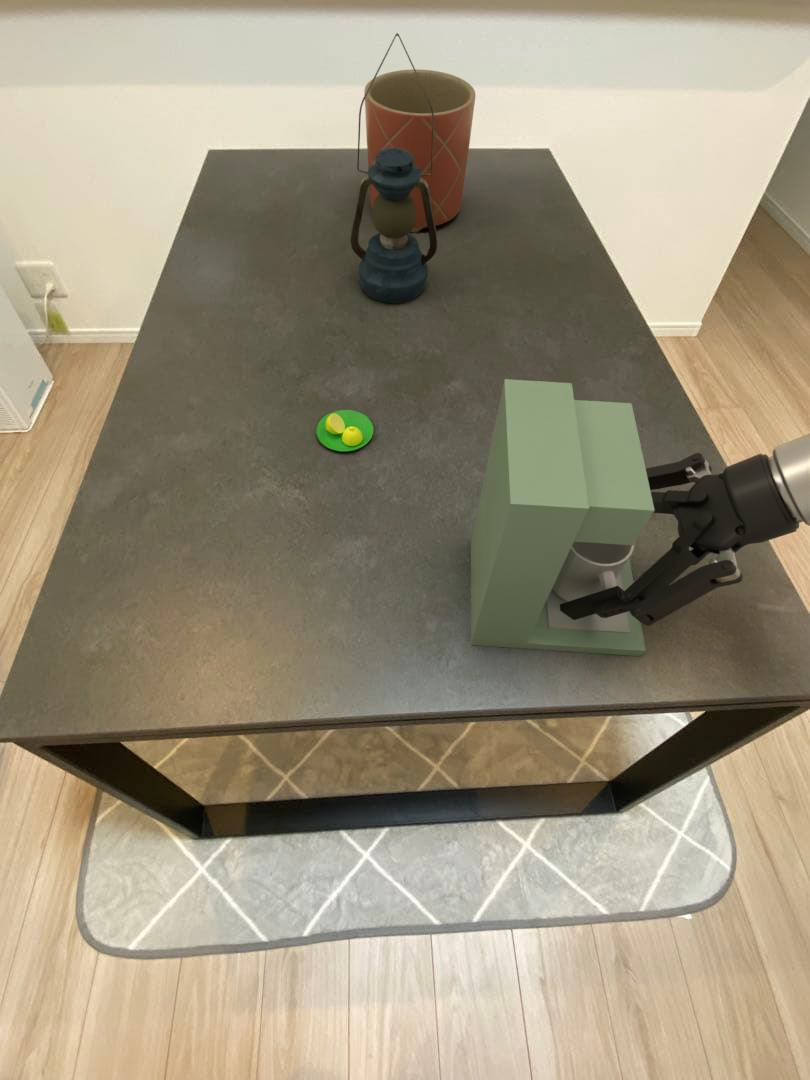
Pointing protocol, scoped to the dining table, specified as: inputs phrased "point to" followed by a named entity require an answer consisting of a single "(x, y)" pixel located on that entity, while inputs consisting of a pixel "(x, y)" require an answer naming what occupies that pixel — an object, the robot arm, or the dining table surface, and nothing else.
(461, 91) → the planter
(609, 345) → the dining table surface
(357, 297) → the dining table surface
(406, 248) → the lantern
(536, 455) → the coffee maker
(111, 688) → the dining table surface
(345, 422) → the plate with lemons
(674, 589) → the robot arm
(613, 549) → the cup
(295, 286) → the dining table surface
